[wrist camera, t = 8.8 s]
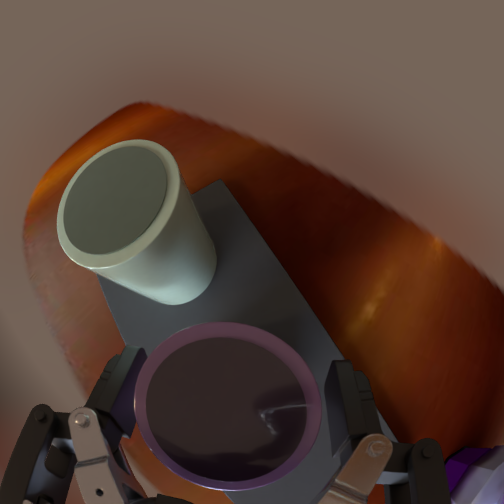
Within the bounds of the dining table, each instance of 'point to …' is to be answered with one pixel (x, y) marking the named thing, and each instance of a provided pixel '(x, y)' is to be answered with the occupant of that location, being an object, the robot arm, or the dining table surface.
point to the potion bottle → (476, 475)
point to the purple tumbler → (227, 406)
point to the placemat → (247, 312)
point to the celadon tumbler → (137, 223)
